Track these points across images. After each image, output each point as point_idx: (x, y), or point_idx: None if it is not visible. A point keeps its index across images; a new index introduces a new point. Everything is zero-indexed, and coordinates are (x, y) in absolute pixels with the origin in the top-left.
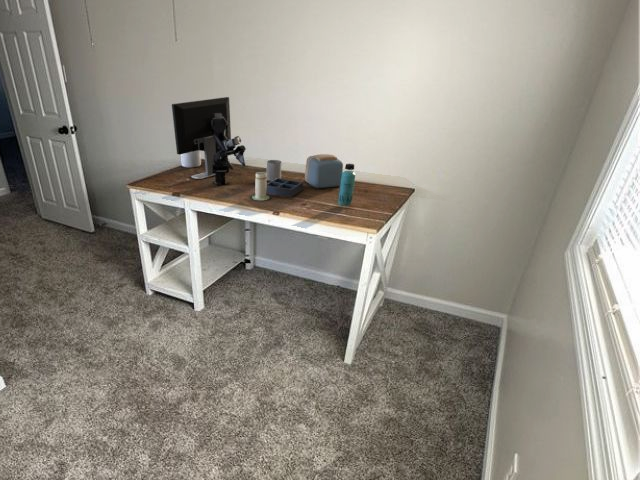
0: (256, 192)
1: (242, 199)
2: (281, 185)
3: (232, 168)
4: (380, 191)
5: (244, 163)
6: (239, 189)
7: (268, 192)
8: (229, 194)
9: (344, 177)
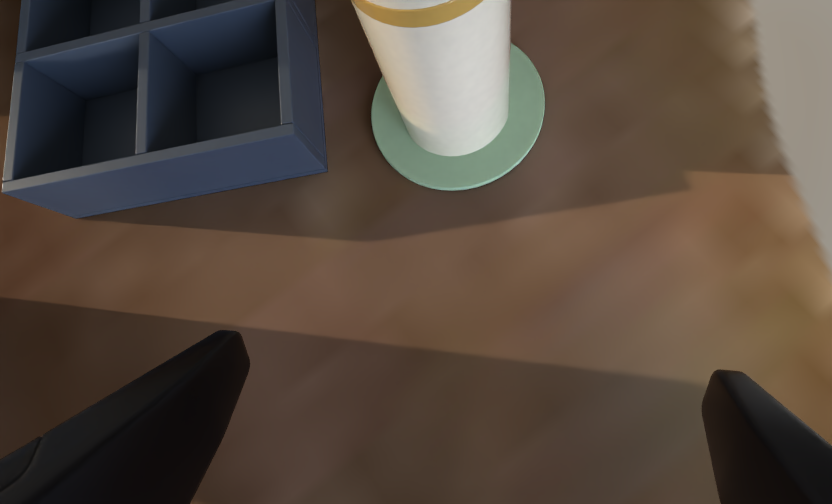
0: (508, 81)
1: (609, 216)
2: (203, 9)
3: (746, 376)
4: None
5: (210, 349)
6: (353, 462)
7: (317, 114)
8: (573, 447)
9: None
